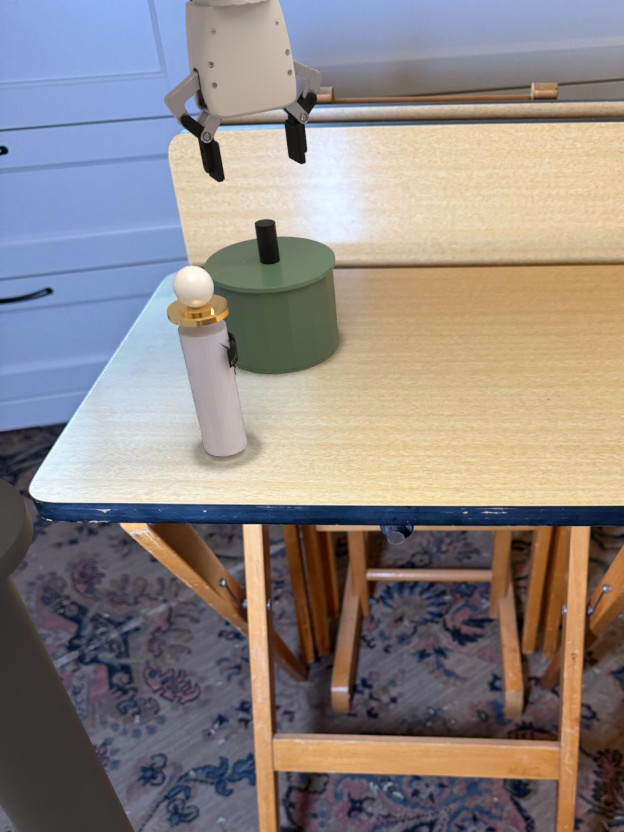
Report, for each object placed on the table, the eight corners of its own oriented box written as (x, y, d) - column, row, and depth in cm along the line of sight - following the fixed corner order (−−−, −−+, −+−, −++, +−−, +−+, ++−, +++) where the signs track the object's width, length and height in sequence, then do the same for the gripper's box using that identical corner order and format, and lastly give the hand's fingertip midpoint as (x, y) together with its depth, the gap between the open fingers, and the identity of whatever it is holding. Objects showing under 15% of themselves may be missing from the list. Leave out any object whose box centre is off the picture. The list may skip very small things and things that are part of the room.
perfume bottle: (200, 469, 82) (156, 283, 69) (198, 438, 86) (157, 258, 73) (256, 461, 83) (223, 276, 70) (252, 431, 87) (220, 251, 74)
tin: (252, 385, 95) (238, 302, 88) (207, 338, 104) (191, 260, 97) (358, 352, 100) (353, 271, 93) (306, 309, 110) (298, 233, 103)
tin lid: (236, 310, 88) (228, 259, 84) (186, 264, 98) (177, 217, 94) (359, 276, 94) (356, 228, 90) (300, 236, 104) (295, 191, 100)
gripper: (294, -31, 82) (312, 147, 93) (130, -12, 75) (171, 176, 87) (328, -24, 77) (343, 162, 88) (156, -3, 71) (195, 195, 82)
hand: (257, 169), depth 88 cm, fingers open, 9 cm apart
